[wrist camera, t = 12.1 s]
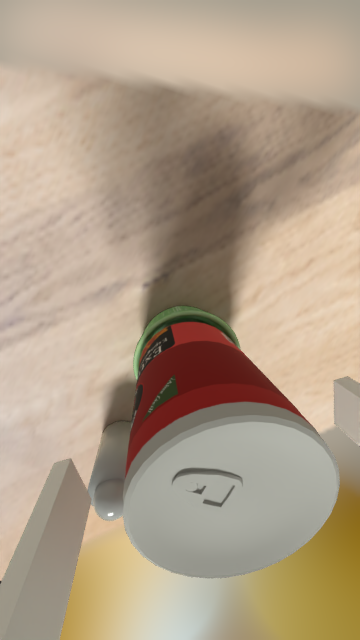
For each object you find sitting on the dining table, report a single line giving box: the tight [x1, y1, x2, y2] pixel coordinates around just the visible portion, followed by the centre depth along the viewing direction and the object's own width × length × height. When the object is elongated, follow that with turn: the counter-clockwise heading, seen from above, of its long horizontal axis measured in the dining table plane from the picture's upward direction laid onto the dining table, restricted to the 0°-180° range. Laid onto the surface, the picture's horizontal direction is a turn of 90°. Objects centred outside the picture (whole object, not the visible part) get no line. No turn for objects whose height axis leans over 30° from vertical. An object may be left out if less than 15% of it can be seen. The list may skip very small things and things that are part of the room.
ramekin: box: [133, 306, 240, 380], centre depth 20 cm, size 9×9×4 cm
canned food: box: [123, 322, 340, 578], centre depth 13 cm, size 8×8×11 cm
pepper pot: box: [87, 421, 131, 521], centre depth 21 cm, size 4×4×8 cm
